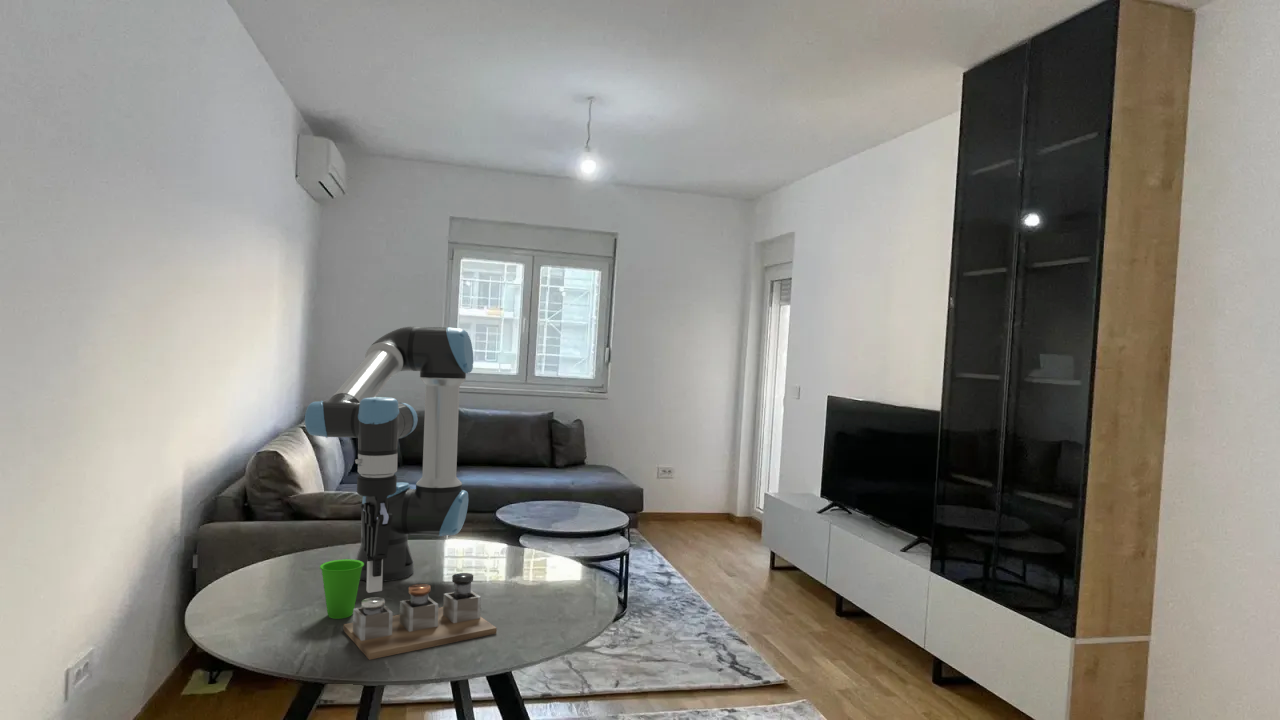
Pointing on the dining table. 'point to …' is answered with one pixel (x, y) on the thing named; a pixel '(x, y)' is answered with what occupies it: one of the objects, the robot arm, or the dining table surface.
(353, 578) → the cup
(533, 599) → the dining table surface
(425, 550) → the dining table surface
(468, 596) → the black plunger
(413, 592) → the copper domed cylinder
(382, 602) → the offwhite plunger
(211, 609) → the dining table surface
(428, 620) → the panel
